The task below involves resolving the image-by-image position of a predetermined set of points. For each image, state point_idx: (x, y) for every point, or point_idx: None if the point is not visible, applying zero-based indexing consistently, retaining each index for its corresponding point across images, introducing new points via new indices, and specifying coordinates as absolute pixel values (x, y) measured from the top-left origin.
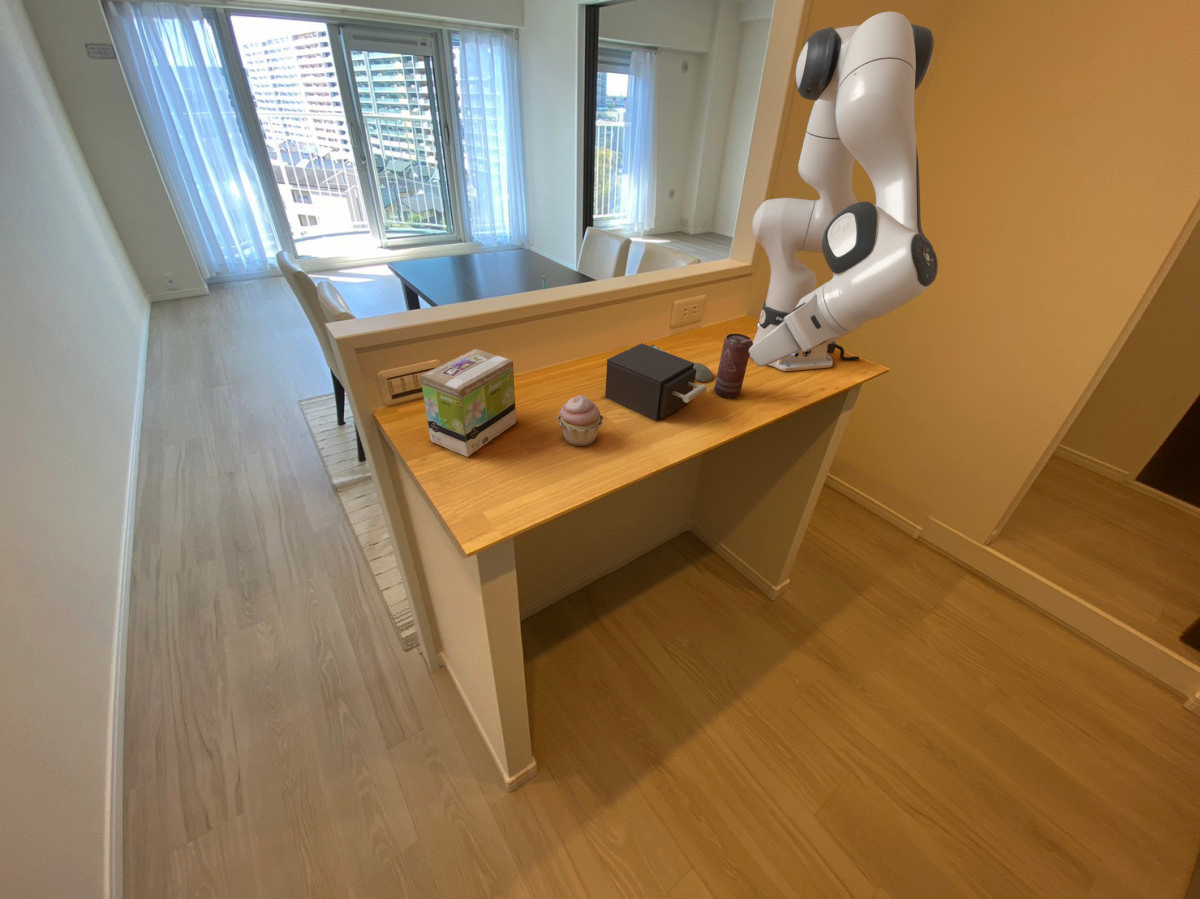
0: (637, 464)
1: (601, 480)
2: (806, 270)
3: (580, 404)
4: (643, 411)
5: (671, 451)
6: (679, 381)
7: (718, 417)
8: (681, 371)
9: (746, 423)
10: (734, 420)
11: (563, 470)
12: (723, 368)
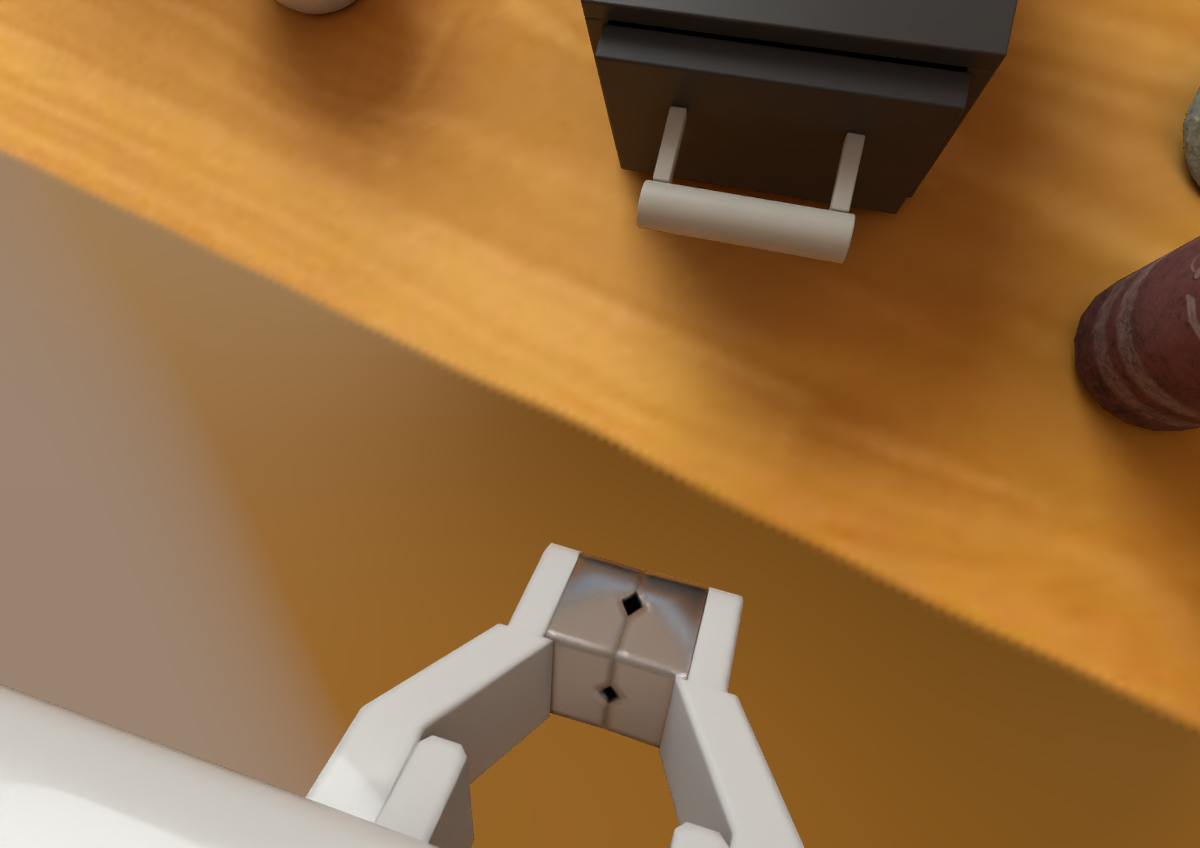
0: (272, 232)
1: (129, 168)
2: None
3: None
4: None
5: (421, 311)
6: (737, 88)
7: (832, 399)
8: (823, 40)
9: (859, 550)
10: (852, 484)
11: (122, 29)
12: (1196, 258)
